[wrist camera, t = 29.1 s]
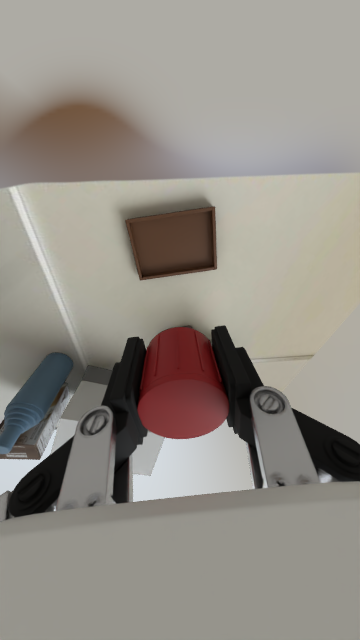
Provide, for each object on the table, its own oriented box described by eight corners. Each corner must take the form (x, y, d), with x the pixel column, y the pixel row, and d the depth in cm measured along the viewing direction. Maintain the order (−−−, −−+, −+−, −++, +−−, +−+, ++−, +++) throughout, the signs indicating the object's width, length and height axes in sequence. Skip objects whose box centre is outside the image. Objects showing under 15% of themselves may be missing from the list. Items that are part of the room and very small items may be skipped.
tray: (141, 277, 39) (139, 280, 38) (127, 219, 34) (125, 220, 32) (214, 266, 39) (217, 269, 37) (212, 206, 34) (215, 206, 32)
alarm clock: (81, 397, 56) (43, 484, 39) (89, 358, 49) (47, 443, 32) (149, 410, 61) (142, 491, 44) (165, 376, 54) (165, 458, 37)
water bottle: (53, 373, 51) (-7, 462, 33) (40, 354, 48) (-34, 442, 30) (77, 369, 51) (30, 457, 33) (66, 350, 47) (7, 436, 30)
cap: (204, 381, 12) (216, 441, 9) (144, 375, 12) (134, 437, 9) (220, 330, 10) (242, 383, 7) (149, 322, 10) (139, 374, 7)
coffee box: (36, 395, 55) (-8, 459, 41) (32, 379, 52) (-17, 443, 38) (70, 397, 56) (39, 460, 42) (68, 382, 53) (34, 445, 39)
